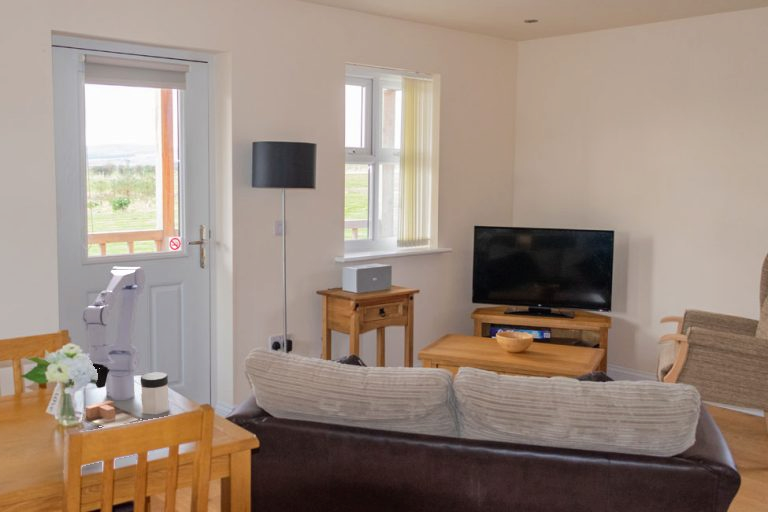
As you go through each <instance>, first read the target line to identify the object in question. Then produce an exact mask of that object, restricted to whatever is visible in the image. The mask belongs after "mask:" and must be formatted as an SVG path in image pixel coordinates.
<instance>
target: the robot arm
mask: <svg viewBox="0 0 768 512" xmlns="http://www.w3.org/2000/svg"><path fill="white" fill-rule="evenodd" d="M145 274H146V273H145V271H144V269H143V268H142V266H138V267H137V266H133V267H132V266H113V267H112V268H111V270H110V272H109V280H110V281H109V283H108V285H107V287H106V289H105V290H102V291H101V292H99V293H98V295H97V296H96V298H95V300H94V301H93V303H92V304H91V305H88V306H87V307H85V308H84V310H83V314H82V315H83V316H82V321H83V323H84V327H85V331H87V342H88V343H87V344H88V353H84V354H85V355H86V357H87V358H88V359H90V360H91V361H92V363H93V366H94V367H95V369H97V373H98V380H97V382H96V383H95V386H96V388H98V389H101V388H104V387H105V390H106V396H108V397H111V399H112V400H116V401H123V400H130V399H132V398H134V397H135V377H134V376H135V375H134V374H135V372H136V371H137V370H138V368H139V363H140V362H139V356H140V355H139V354H140V353H139V352H140V351H139V350H138V349H137V348H136V347H135V346H134V345H133V344H132V341H133V333H134V327H135V321H136V315H137V307H138V300H139V296H140V295H141V294H142V293H143V292H144V287H145V281H146V275H145ZM118 295H121V297H122V298H121V306H120V312H119V318H118V319H119V320H118V327H117V332H116V338H115V343H113V344H112V345H110V346H109V336H108V324H109V323H110V321H111V315H112V310H113V309H114V307H115V305H116V304H117V301H118V298H117V296H118ZM92 363H91V364H92ZM99 368H100V369H99Z"/></svg>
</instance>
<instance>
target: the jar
mask: <svg viewBox="0 0 768 512" xmlns="http://www.w3.org/2000/svg"><path fill="white" fill-rule="evenodd" d="M168 378H169V376H168V373H166V372H162V371H161V372H159V371H155V372H154V371H152V372H148V373H144V374H142V375H141V376H140V386H141V394H140V395H141V405H142V414H147V415H160V414H162V413H167V412H169V411H170V408H169V407H170V405H169V402H170V401H169V400H170V399H169V384H168V383H169V379H168Z"/></svg>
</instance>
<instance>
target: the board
mask: <svg viewBox="0 0 768 512" xmlns="http://www.w3.org/2000/svg"><path fill="white" fill-rule="evenodd" d="M114 408H115V418H112V419H109V420H107V419H105V418H103V417H101V416H96V417H92V418H89V417H87V416H86V410H85V411H83V412H84V413H83V417H82V420H81V421H83V422H85V423H87V424H90V425H92V426H94V427H96V428H97V427H98V428H97V429H100V428H102V427H108V426H116V425H120V424H126V423H130V424H132V423H131V422H134V423H137V422H140V421H143V420H145V418H143V417H141V416H139V415H136V414H135V413H131V412H129V411H126V410H124V409H122V408H120V407H117V406H115V405H114ZM140 419H142V420H140ZM136 421H137V422H136ZM99 426H102V427H99Z"/></svg>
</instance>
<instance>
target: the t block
mask: <svg viewBox="0 0 768 512" xmlns="http://www.w3.org/2000/svg"><path fill="white" fill-rule="evenodd" d="M114 406H115V403H114V401H112V400H106V401H101V402H98V403H94V404H91V405H87V406H85V411H86V416H87V417H89V418H92V417H96V416H101V417H103V418H105V419H107V420H109V419H112V418H115V408H114Z"/></svg>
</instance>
